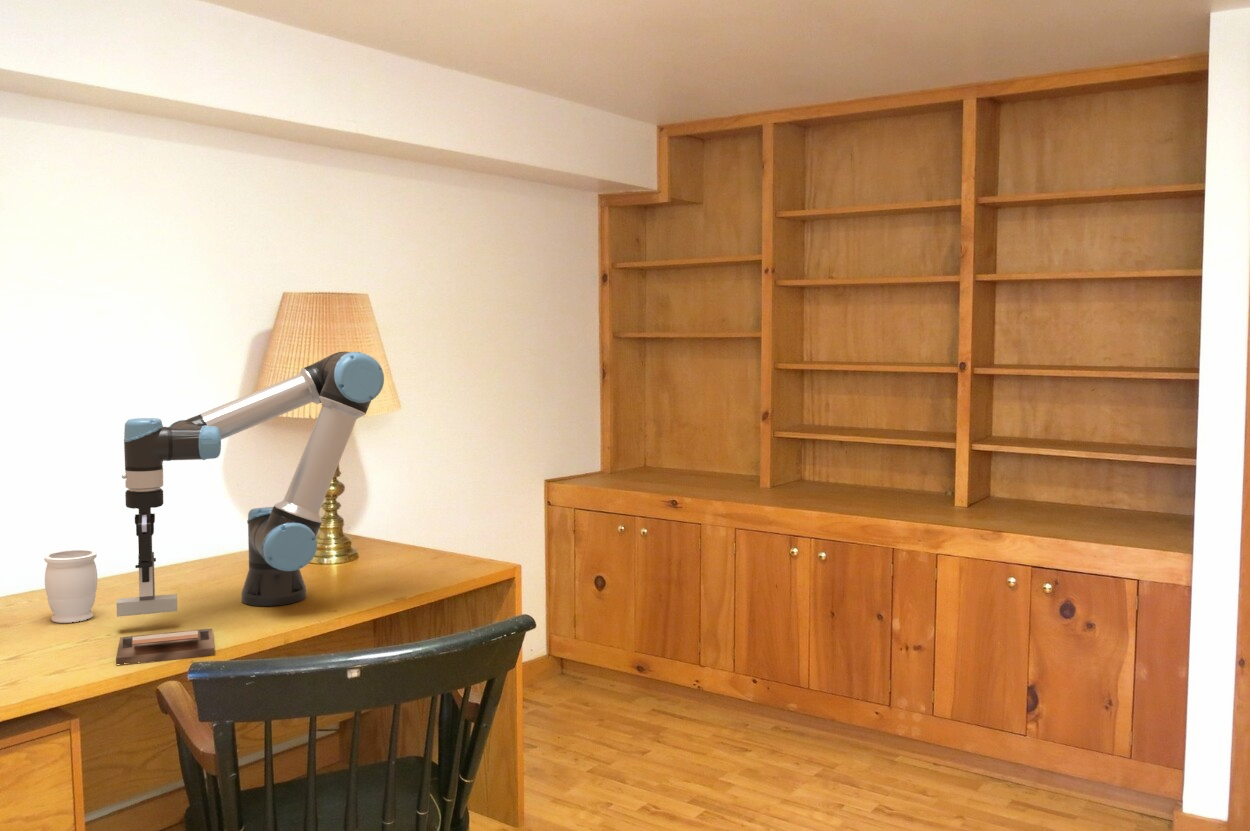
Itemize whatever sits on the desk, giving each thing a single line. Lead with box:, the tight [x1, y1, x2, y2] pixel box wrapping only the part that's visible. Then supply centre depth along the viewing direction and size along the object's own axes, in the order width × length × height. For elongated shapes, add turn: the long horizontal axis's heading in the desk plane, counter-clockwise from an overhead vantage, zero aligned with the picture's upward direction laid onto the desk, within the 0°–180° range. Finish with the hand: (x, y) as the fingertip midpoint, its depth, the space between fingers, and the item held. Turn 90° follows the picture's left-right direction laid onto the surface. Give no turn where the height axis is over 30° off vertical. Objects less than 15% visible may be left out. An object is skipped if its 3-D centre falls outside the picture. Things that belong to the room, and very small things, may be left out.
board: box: [115, 628, 215, 665], centre depth 211 cm, size 18×15×3 cm
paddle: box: [116, 551, 178, 618], centre depth 224 cm, size 12×4×13 cm, turn 114°
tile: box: [133, 630, 198, 645], centre depth 207 cm, size 12×7×1 cm, turn 114°
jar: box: [43, 549, 98, 624], centre depth 232 cm, size 11×10×15 cm
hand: (146, 593), depth 225 cm, fingers closed on paddle, 3 cm apart
